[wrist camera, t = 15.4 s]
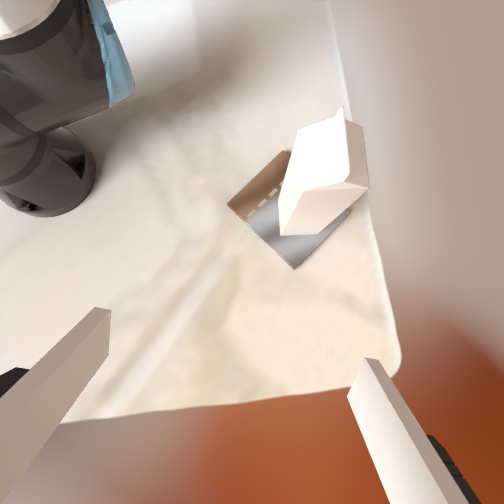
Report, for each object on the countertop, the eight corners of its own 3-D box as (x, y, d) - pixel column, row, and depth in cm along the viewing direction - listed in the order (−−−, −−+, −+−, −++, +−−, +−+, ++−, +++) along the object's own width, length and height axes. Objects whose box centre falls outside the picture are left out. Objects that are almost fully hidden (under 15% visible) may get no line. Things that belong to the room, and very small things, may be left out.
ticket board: (227, 205, 44) (227, 203, 43) (282, 153, 45) (283, 149, 44) (294, 269, 42) (295, 268, 41) (348, 213, 44) (351, 211, 43)
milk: (314, 198, 43) (381, 100, 21) (317, 235, 42) (391, 172, 20) (276, 200, 43) (305, 103, 21) (279, 236, 42) (311, 175, 20)
